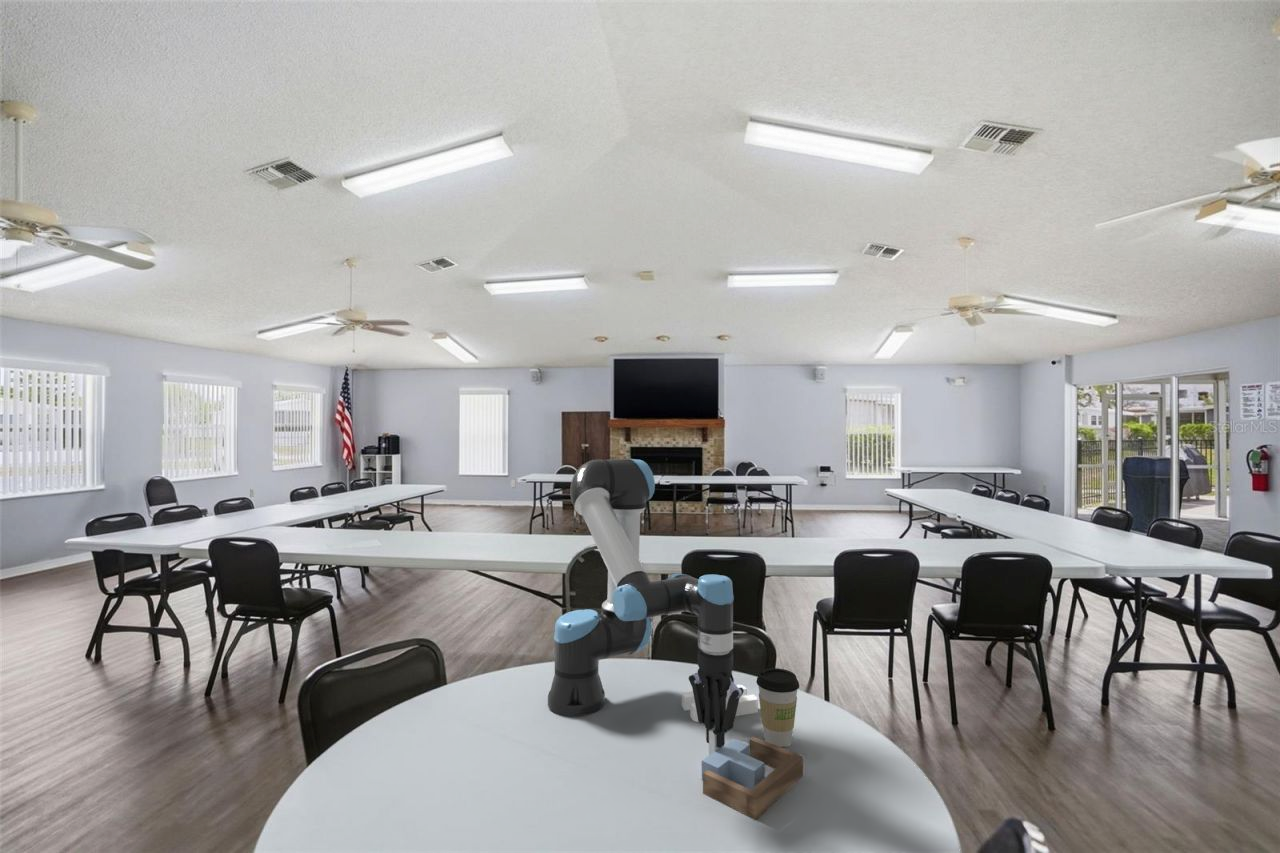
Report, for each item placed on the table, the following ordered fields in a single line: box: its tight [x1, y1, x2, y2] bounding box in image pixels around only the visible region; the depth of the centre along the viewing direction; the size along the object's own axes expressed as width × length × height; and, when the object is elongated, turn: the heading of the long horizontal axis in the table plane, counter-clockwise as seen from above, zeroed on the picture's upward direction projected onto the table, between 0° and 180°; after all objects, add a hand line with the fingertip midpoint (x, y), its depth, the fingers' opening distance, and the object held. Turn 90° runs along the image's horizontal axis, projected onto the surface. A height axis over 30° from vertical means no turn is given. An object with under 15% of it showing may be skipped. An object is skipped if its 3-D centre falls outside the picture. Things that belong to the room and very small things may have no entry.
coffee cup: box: [755, 667, 800, 748], centre depth 135 cm, size 10×10×15 cm
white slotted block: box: [681, 684, 759, 723], centre depth 151 cm, size 10×18×11 cm, turn 108°
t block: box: [701, 737, 766, 790], centre depth 120 cm, size 10×12×4 cm
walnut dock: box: [702, 736, 804, 821], centre depth 118 cm, size 12×19×4 cm, turn 138°
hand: (715, 759), depth 124 cm, fingers closed
